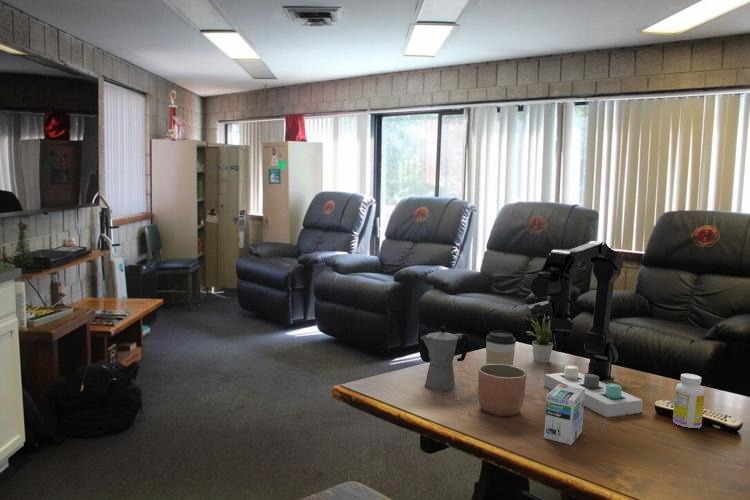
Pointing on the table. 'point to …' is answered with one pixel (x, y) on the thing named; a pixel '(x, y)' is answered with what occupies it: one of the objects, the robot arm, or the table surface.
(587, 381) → the key charcoal
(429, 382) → the coffeepot
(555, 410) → the light bulb box
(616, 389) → the key teal
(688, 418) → the supplement bottle
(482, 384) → the planter
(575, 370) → the key ivory
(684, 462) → the table surface
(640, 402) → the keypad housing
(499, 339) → the coffee cup
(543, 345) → the house plant
